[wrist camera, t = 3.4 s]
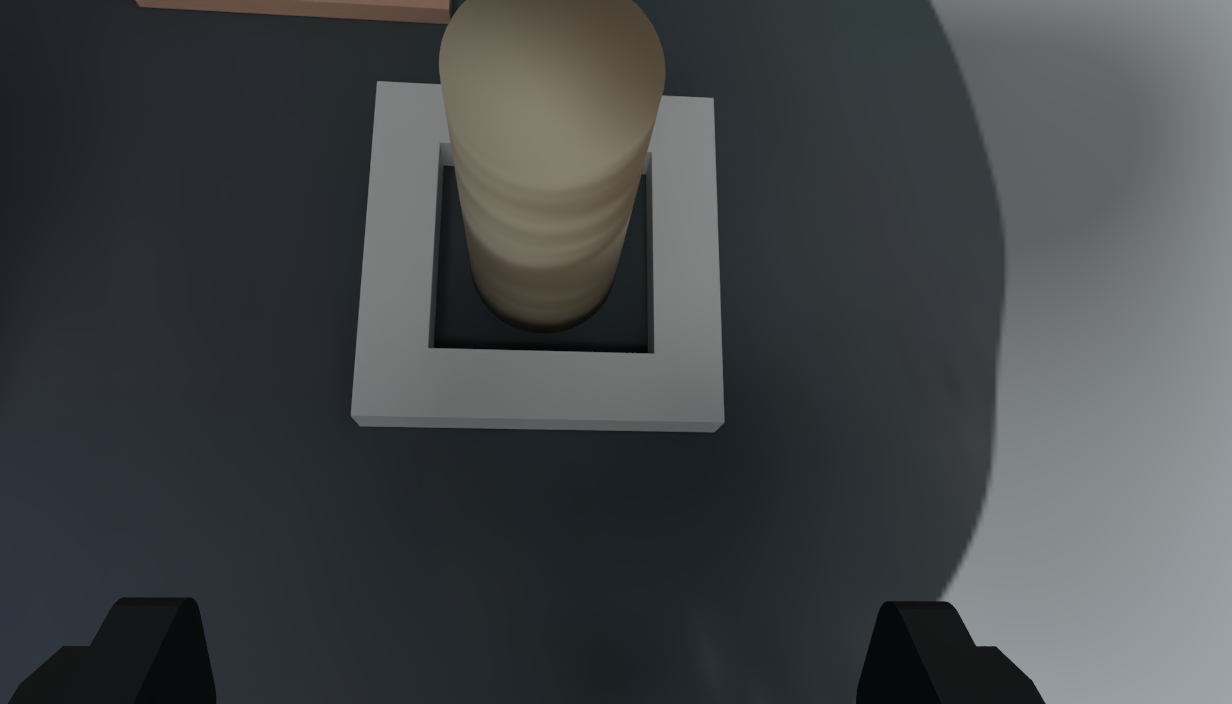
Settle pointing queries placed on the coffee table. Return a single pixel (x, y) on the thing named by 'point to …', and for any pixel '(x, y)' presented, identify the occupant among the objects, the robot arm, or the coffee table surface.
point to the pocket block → (519, 379)
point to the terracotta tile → (323, 8)
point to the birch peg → (548, 147)
